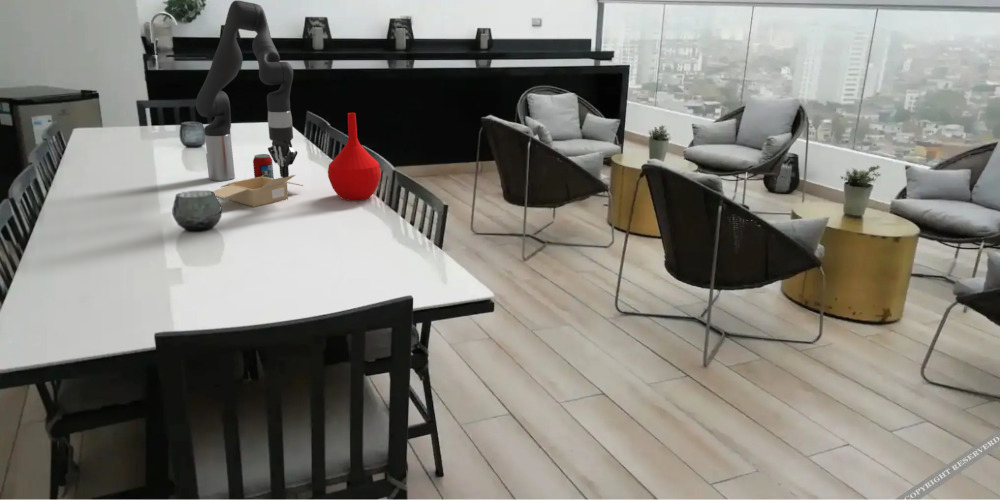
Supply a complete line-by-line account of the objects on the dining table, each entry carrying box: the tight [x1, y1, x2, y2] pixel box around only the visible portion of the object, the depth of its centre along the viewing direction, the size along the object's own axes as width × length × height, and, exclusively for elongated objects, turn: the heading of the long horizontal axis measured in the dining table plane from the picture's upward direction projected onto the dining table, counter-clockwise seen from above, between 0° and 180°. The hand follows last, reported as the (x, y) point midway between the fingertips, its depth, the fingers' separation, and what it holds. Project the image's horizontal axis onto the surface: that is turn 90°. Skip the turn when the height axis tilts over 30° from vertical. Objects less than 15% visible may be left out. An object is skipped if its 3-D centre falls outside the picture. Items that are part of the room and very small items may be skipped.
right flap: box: [211, 185, 247, 199], centre depth 247 cm, size 9×9×1 cm
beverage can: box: [252, 153, 275, 179], centre depth 272 cm, size 7×7×12 cm
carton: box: [219, 176, 304, 208], centre depth 262 cm, size 23×23×6 cm
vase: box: [327, 112, 382, 202], centre depth 258 cm, size 18×18×30 cm
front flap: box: [260, 174, 296, 189], centre depth 248 cm, size 9×9×1 cm
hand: (284, 176), depth 245 cm, fingers closed
